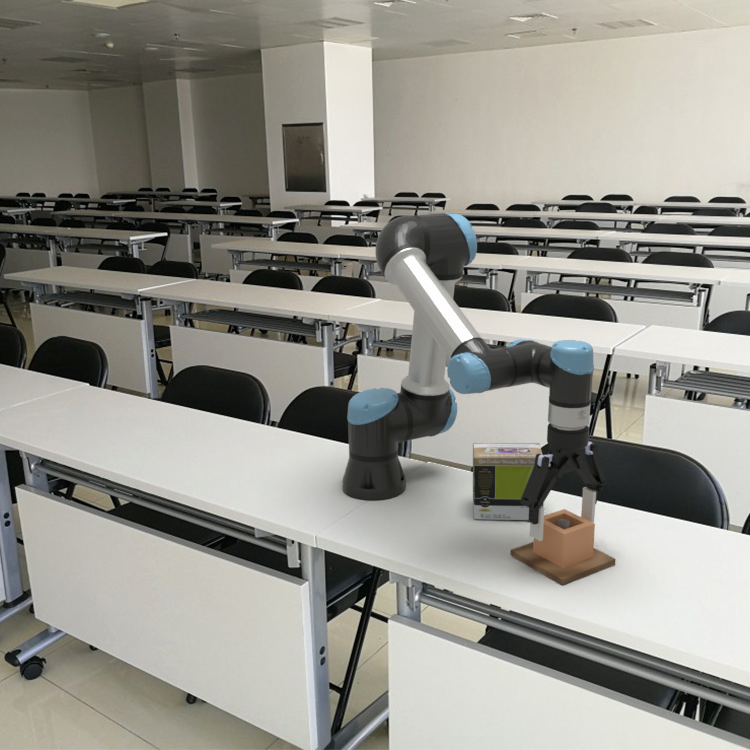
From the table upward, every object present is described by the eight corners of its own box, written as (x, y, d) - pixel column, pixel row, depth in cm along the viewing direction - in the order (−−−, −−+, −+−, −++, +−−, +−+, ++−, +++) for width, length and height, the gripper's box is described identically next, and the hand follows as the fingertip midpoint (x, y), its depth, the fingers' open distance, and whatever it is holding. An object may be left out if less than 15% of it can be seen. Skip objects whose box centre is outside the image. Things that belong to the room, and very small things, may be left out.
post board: (510, 555, 157) (511, 517, 155) (562, 537, 164) (563, 500, 162) (562, 585, 145) (564, 544, 143) (615, 564, 153) (617, 525, 151)
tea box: (538, 503, 181) (541, 441, 177) (543, 522, 171) (545, 457, 167) (471, 501, 182) (472, 440, 179) (472, 520, 173) (473, 456, 169)
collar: (533, 551, 156) (534, 518, 154) (562, 541, 160) (564, 509, 158) (562, 568, 149) (564, 534, 147) (592, 557, 153) (594, 523, 151)
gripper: (532, 443, 138) (527, 553, 144) (630, 417, 151) (622, 520, 157) (503, 431, 144) (499, 537, 150) (600, 407, 157) (593, 506, 163)
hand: (562, 529), depth 153 cm, fingers open, 13 cm apart
